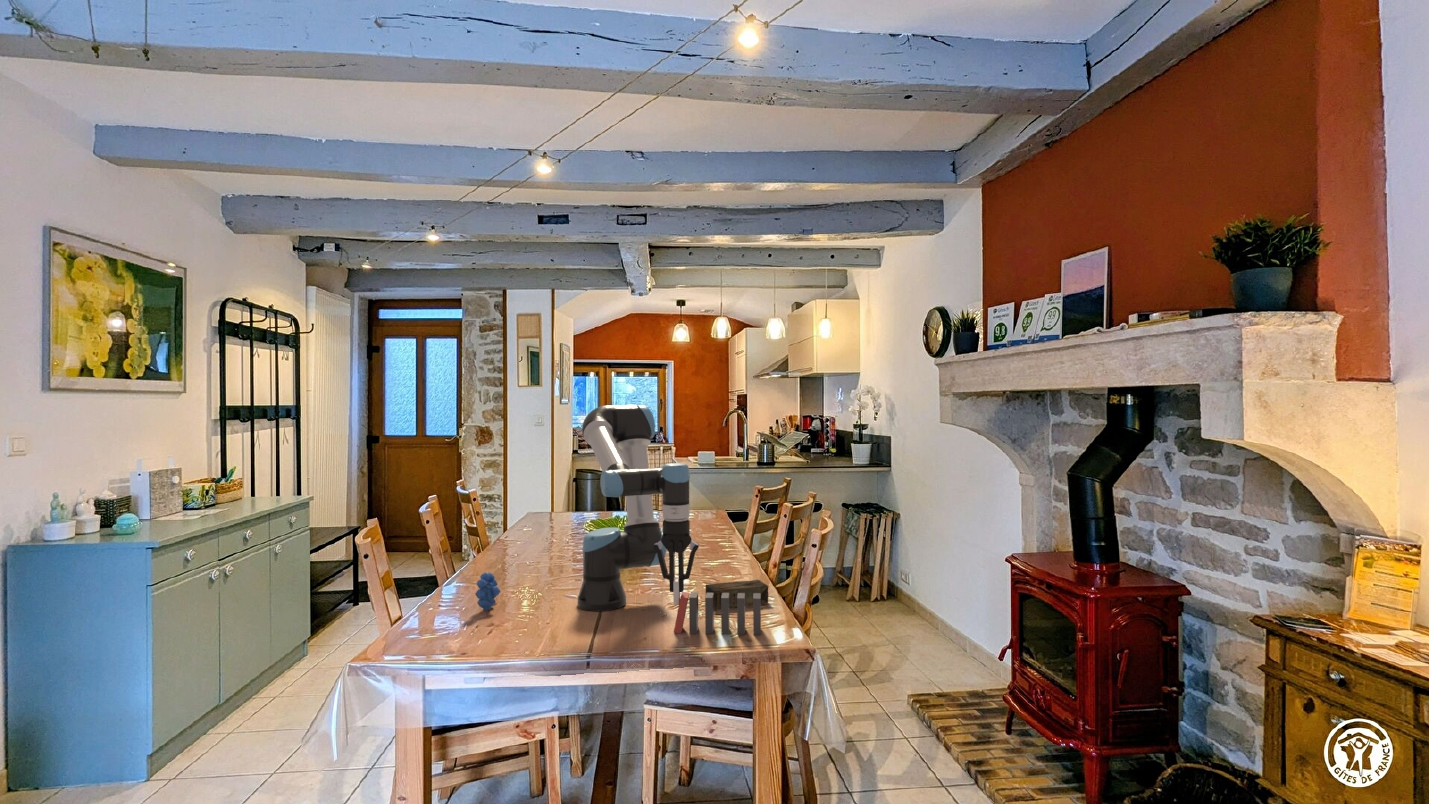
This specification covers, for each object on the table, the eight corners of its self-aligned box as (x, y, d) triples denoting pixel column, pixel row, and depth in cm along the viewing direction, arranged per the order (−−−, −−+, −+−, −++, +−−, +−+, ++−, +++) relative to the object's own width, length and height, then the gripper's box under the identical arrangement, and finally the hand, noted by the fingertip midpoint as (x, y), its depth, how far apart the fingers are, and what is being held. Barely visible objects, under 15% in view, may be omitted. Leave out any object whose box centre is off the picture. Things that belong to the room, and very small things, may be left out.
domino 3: (721, 634, 188) (721, 598, 188) (722, 628, 193) (722, 592, 193) (728, 634, 188) (728, 598, 188) (729, 628, 193) (729, 592, 193)
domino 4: (737, 634, 188) (737, 598, 188) (737, 628, 193) (737, 593, 193) (744, 634, 188) (744, 598, 188) (745, 628, 193) (744, 593, 193)
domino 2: (705, 634, 189) (705, 597, 188) (706, 627, 194) (706, 592, 193) (712, 634, 188) (712, 597, 188) (713, 628, 193) (713, 592, 193)
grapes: (492, 617, 204) (491, 576, 204) (470, 616, 205) (470, 576, 205) (508, 605, 216) (508, 567, 216) (487, 604, 217) (487, 566, 217)
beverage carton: (769, 604, 216) (769, 583, 216) (712, 611, 209) (712, 589, 209) (759, 597, 224) (759, 577, 223) (703, 604, 217) (703, 583, 217)
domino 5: (753, 634, 188) (753, 598, 188) (753, 628, 193) (753, 593, 193) (760, 635, 187) (760, 598, 187) (760, 628, 192) (760, 593, 192)
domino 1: (689, 633, 189) (689, 597, 189) (691, 627, 194) (691, 592, 194) (696, 633, 189) (696, 597, 189) (698, 627, 194) (698, 592, 194)
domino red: (673, 632, 189) (680, 596, 189) (675, 626, 194) (682, 591, 194) (680, 633, 189) (687, 598, 189) (682, 627, 194) (689, 593, 194)
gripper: (650, 521, 188) (651, 607, 188) (698, 521, 187) (698, 608, 187) (655, 516, 195) (655, 599, 196) (700, 517, 194) (701, 600, 194)
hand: (676, 603), depth 191 cm, fingers closed
